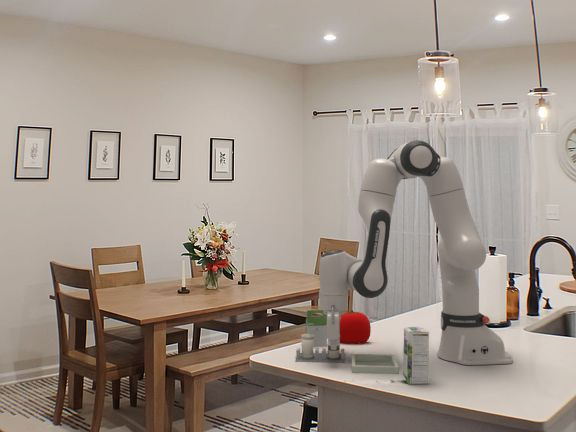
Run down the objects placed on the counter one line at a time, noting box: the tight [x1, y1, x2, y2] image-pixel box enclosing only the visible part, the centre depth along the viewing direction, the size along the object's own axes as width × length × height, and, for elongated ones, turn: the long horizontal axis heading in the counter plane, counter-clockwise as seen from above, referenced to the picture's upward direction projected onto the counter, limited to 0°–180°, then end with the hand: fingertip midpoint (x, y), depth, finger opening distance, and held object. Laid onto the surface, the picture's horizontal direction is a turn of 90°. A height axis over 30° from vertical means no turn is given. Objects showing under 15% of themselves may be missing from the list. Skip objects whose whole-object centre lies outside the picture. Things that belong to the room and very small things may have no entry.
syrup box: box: [402, 326, 430, 385], centre depth 157 cm, size 6×6×14 cm
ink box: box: [305, 309, 328, 348], centre depth 192 cm, size 7×4×13 cm, turn 92°
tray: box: [350, 353, 399, 375], centre depth 168 cm, size 13×13×3 cm
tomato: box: [339, 309, 372, 345], centre depth 198 cm, size 12×14×11 cm
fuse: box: [327, 334, 341, 359], centre depth 177 cm, size 4×4×7 cm
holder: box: [294, 332, 346, 364], centre depth 177 cm, size 15×10×8 cm, turn 84°
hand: (333, 347), depth 177 cm, fingers closed on fuse, 4 cm apart
